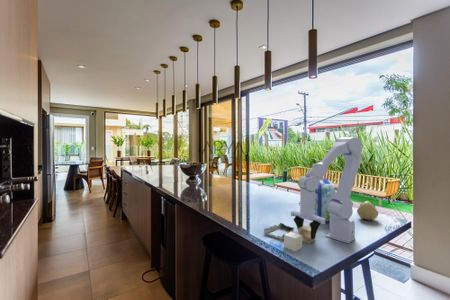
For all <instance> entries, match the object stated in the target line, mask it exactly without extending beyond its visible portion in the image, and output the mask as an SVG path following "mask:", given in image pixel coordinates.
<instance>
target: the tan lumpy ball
mask: <svg viewBox="0 0 450 300" xmlns="http://www.w3.org/2000/svg"><path fill="white" fill-rule="evenodd" d="M356 213H357V215H358V216H359V218H360V219H361V220H367V221H375V220H376V219H377V218H378V216H379V211H378V210H377V208H376V206H375V204H373V203H371V202H370V201H369V200H366V201H364V202H362V203H360V205H359V207H357V209H356Z"/></svg>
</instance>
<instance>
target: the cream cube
mask: <svg viewBox="0 0 450 300" xmlns="http://www.w3.org/2000/svg"><path fill="white" fill-rule="evenodd" d="M288 232H289V231H288ZM288 232H287V233H284V234H285V235H284V234H283V235H284V239H283V247H284V248H285V249H287V248H288V250H290V249H291V250H290V251H293V252H298V251H299V250H301V249H302V248H303V241H302V235H300V234H298V232H294V231H293V232H289V233H288Z"/></svg>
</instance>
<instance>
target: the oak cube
mask: <svg viewBox="0 0 450 300" xmlns="http://www.w3.org/2000/svg"><path fill="white" fill-rule="evenodd" d="M297 234H300V235H302V242H305V243H308V244H311V243H313V242H314V241H316V237H315V238H314V239H311V226H310V225H305V224H303V226H301V227H299V232H297Z"/></svg>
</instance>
